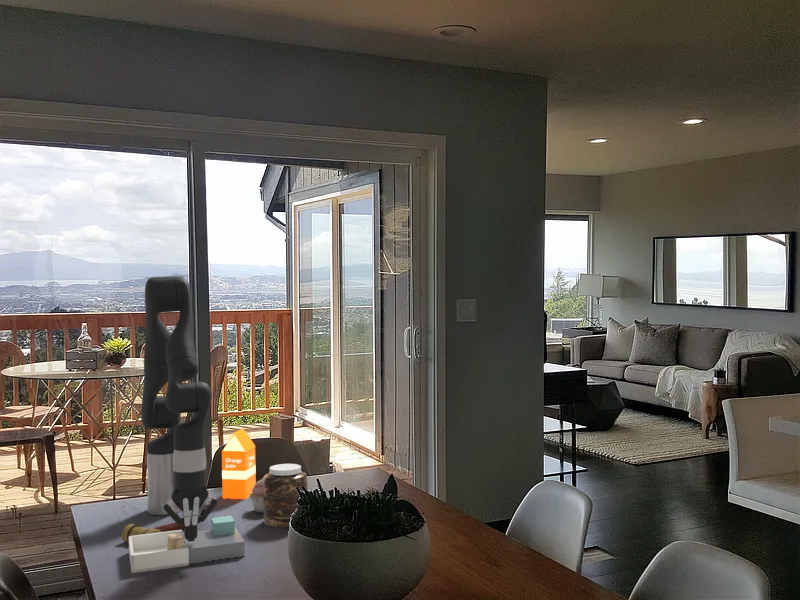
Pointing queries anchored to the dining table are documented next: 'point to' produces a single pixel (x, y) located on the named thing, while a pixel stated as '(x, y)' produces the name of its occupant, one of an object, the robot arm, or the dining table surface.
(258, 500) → the cupcake
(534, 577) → the dining table surface
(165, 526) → the gavel
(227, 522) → the seafoam green cuboid
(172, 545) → the thick tan wooden block
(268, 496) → the jar
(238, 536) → the board
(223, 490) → the orange juice
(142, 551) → the tray
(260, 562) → the dining table surface
